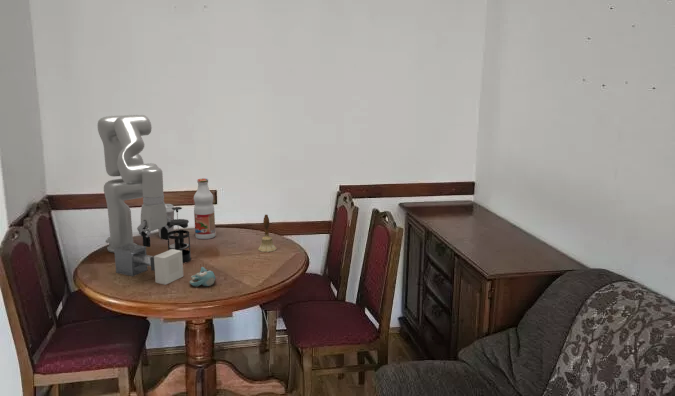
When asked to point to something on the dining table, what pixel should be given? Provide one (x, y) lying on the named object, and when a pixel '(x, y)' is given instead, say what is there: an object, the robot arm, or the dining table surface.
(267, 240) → the hand bell
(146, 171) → the robot arm
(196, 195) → the fruit juice
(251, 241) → the dining table surface
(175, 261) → the socket
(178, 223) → the french press
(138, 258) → the rod
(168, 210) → the coffee cup
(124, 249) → the grey metal block
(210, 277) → the stuffed animal
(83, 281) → the dining table surface
